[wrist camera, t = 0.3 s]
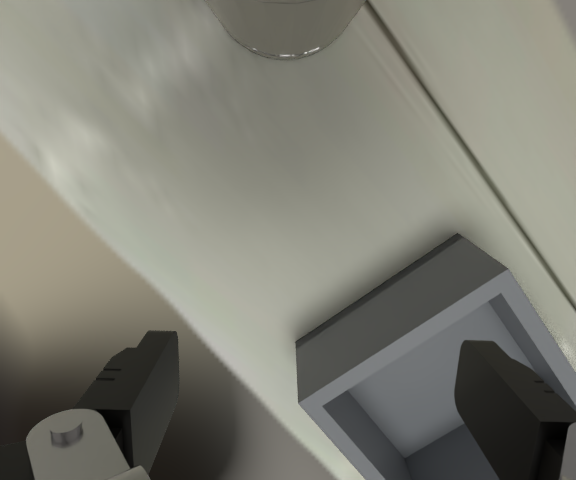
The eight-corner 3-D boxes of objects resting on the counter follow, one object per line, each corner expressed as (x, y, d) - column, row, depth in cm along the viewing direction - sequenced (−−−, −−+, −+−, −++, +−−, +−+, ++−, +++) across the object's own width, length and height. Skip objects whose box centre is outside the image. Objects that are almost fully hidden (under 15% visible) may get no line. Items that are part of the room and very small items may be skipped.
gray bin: (295, 342, 32) (298, 403, 25) (457, 233, 30) (508, 268, 23) (397, 462, 35) (423, 545, 28) (551, 373, 33) (619, 440, 26)
